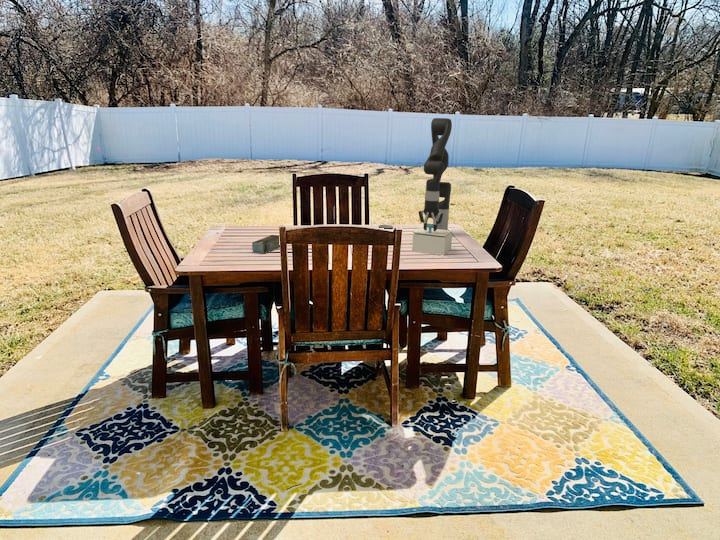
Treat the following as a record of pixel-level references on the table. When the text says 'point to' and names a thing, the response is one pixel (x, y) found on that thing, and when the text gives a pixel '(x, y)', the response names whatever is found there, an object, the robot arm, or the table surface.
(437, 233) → the lid
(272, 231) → the table surface
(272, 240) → the beverage carton
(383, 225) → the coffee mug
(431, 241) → the box
